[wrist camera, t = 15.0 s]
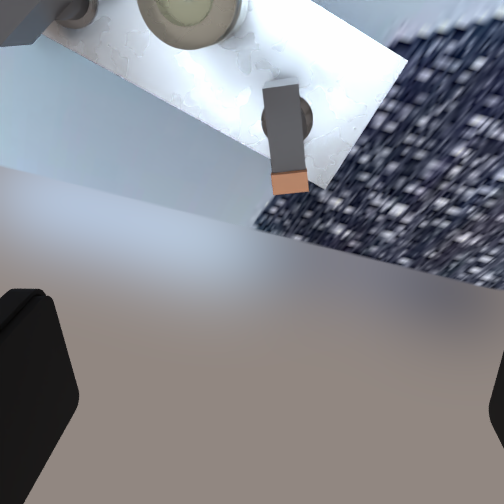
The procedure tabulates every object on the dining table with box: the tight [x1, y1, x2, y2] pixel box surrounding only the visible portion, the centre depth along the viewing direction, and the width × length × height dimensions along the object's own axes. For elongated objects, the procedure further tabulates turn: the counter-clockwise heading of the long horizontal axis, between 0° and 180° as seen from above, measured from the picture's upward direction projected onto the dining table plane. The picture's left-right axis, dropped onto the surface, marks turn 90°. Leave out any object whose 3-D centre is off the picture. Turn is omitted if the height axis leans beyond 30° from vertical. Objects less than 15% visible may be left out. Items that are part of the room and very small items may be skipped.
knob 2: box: [262, 77, 309, 195], centre depth 28 cm, size 6×3×6 cm, turn 8°
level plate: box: [42, 0, 408, 189], centre depth 27 cm, size 26×10×9 cm, turn 62°
